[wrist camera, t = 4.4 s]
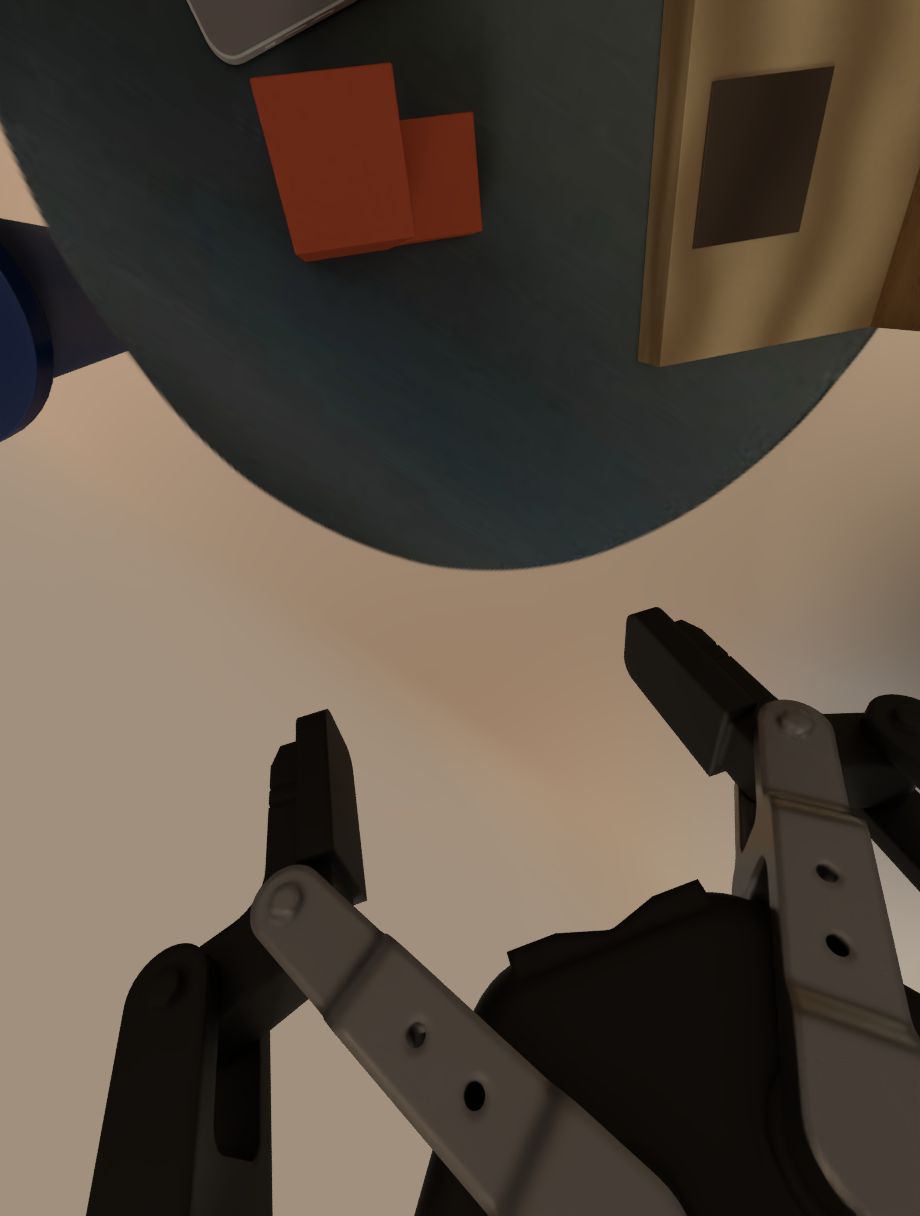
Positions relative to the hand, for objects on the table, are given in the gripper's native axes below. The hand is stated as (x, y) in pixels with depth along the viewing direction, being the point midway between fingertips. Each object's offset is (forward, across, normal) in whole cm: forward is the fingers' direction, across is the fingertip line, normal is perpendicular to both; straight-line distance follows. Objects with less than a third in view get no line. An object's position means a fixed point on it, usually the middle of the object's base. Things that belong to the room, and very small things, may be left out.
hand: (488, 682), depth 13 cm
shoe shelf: (+26, +29, +9) cm, 40 cm away
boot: (+27, +4, +11) cm, 30 cm away
